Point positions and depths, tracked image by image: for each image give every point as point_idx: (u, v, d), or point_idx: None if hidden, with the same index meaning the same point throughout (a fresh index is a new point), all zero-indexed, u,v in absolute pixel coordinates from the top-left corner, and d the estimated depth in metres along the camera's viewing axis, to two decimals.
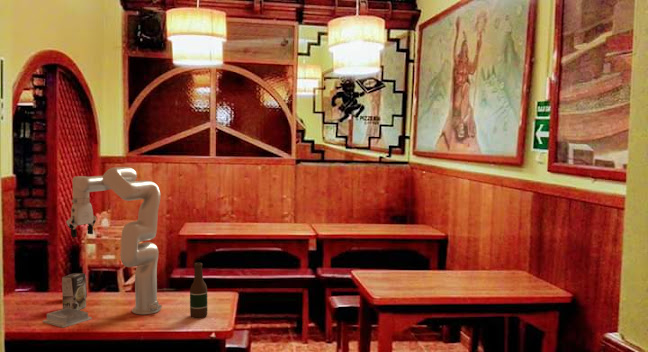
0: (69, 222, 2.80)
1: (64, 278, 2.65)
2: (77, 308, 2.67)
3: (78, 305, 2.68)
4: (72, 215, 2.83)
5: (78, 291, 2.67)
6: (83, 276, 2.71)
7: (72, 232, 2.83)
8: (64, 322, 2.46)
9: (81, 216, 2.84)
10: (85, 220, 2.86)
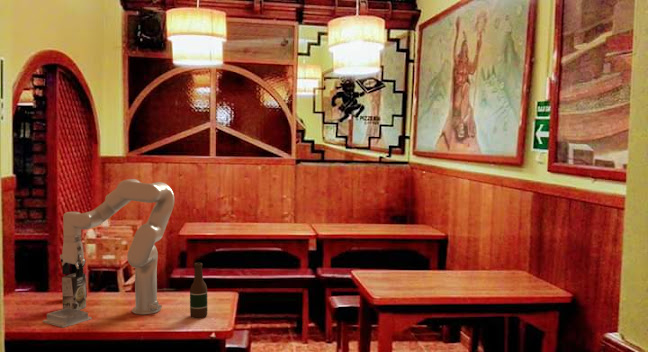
0: None
1: (64, 278, 2.65)
2: (77, 308, 2.67)
3: (78, 305, 2.68)
4: (78, 254, 2.65)
5: (78, 291, 2.67)
6: (83, 276, 2.71)
7: (80, 271, 2.66)
8: (64, 322, 2.46)
9: None
10: None
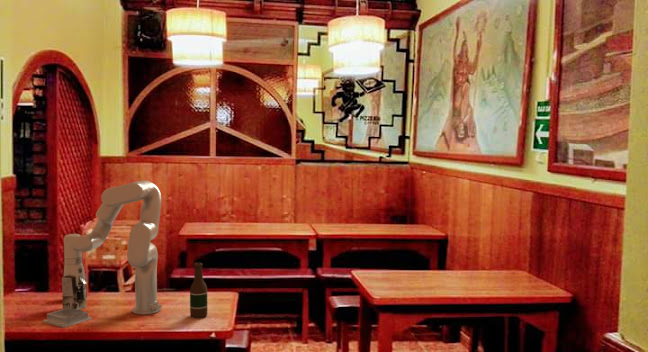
0: None
1: (64, 278, 2.65)
2: (77, 308, 2.67)
3: (78, 305, 2.68)
4: (79, 276, 2.66)
5: None
6: None
7: (81, 294, 2.67)
8: (64, 322, 2.46)
9: None
10: None
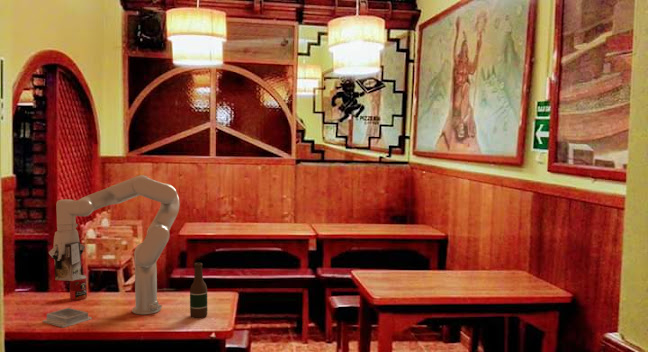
0: None
1: (73, 245, 2.52)
2: None
3: None
4: None
5: None
6: None
7: None
8: (64, 322, 2.46)
9: None
10: None
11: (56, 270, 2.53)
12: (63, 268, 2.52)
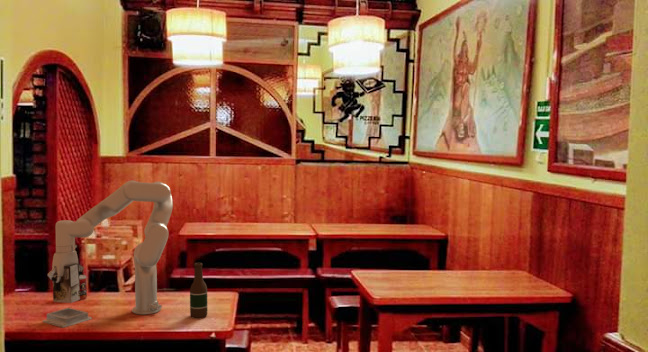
0: None
1: (72, 267, 2.49)
2: None
3: None
4: None
5: None
6: None
7: None
8: (64, 322, 2.46)
9: None
10: None
11: (54, 292, 2.50)
12: (62, 290, 2.49)
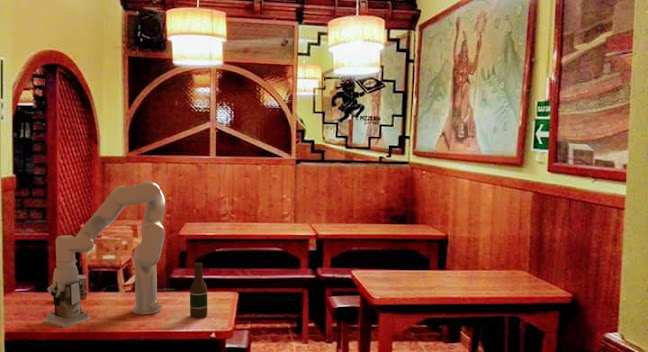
0: None
1: (73, 285, 2.50)
2: None
3: None
4: None
5: None
6: None
7: None
8: (64, 322, 2.46)
9: None
10: None
11: (56, 310, 2.51)
12: (63, 308, 2.50)
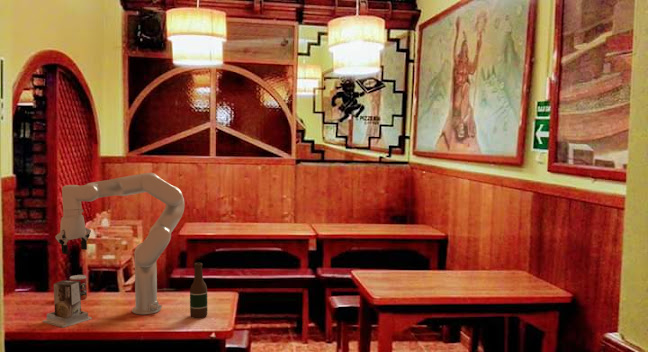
0: None
1: (73, 285, 2.49)
2: None
3: None
4: None
5: None
6: None
7: None
8: (64, 322, 2.46)
9: None
10: None
11: (56, 310, 2.51)
12: (63, 308, 2.50)
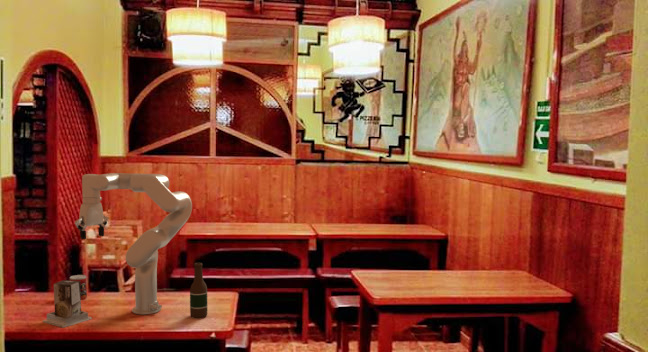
0: None
1: (73, 285, 2.49)
2: None
3: None
4: None
5: None
6: None
7: None
8: (64, 322, 2.46)
9: None
10: None
11: (56, 310, 2.51)
12: (63, 308, 2.50)
